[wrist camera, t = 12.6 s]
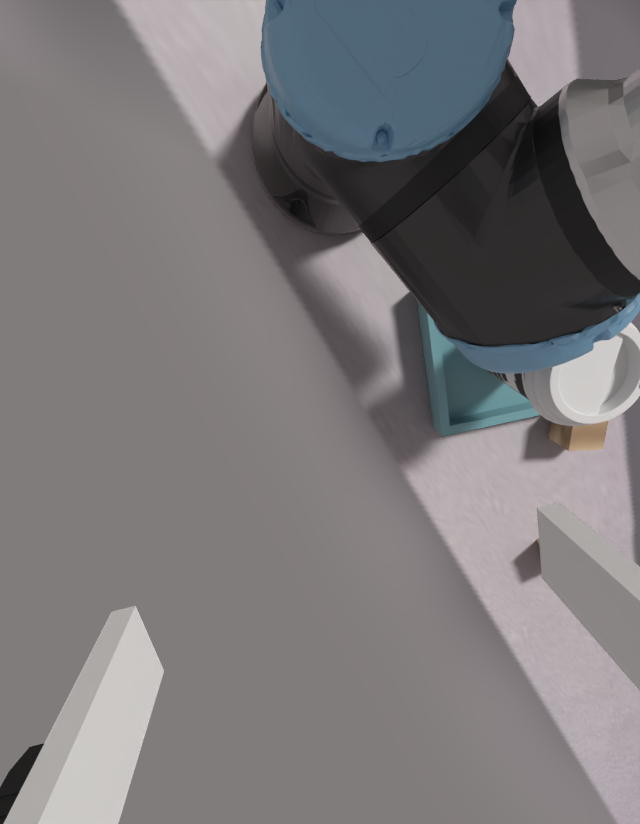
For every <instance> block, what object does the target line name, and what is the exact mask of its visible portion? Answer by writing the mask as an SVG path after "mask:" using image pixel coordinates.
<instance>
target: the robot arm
mask: <svg viewBox="0 0 640 824" xmlns="http://www.w3.org/2000/svg"><path fill="white" fill-rule="evenodd" d="M516 1H517V0H266V6H265V15H264V20H263V25H262V42H261V43H262V44H261V59H262V66H263V70H264V73H265V75H266V84H265V86H264V88H263V90H262V92H261V95H260V97H259V100H258V103H257V106H256V110H255V115H254V120H253V129H252V144H253V153H254V159H255V163H256V167H257V171H258V174H259V177H260V180H261V182H262V185H263V187H264V189H265V191H266V193H267V194H268V196H269V198H270V199H271V201H272V202H273V203H274V205H275V206H276V207H277V208H278V209H279V210H280V211H281V212H282V213H283V214H284V215H285V216H286V217H287V218H288V219H290V220H291V221H292V222H294V223H295V224H297V225H299V226H301V227H303V228H305V229H307V230H309V231H313V232H316V233H320V234H326V235H342V234H349V233H353V232H356V231H359V230H361V231H362V232H363V233H364V234H365V236H366V237H367V238H368V239H369V240H370V242H371V244H372V245H373V246H374V248H375V249H376V250H377V251H378V253H379V254H380V255H381V256H382V258H383V259H384V260H385V261H386V263H387V264H388V265H389V266H390V267H391V269H392V270H393V271H394V272H395V274H396V275H397V276H398V277H399V279H400V280H401V281H402V282H403V283H404V285H405V286H406V287H407V288H408V290H409V291H410V292H411V293H412V295H413V296H414V297H415V298H416V299H417V301H418V302H419V303H420V304H421V306H422V307H423V308H424V309H425V311H426V312H427V313H428V314H429V316H430V317H431V318H432V319H433V322H434V325H435V327H436V329H437V330H438V331H439V333H440V334H441V335H442V336H444V337H445V338H446V339H447V340H448V341H450V342H451V343H453V344H454V345H455V346H456V347H457V349H458V350H459V351H460V352H461V353H462V354H463V355H464V356H465V357H466V358H467V360H469V361H470V362H471V363H473V364H474V365H476V366H478V367H479V368H482V369H484V370H487V371H491V372H497V373H506V374H516V373H526V372H533V371H539V370H543V369H547V368H551V367H554V366H558V365H561V364H564V363H566V362H569V361H571V360H574V359H576V358H578V357H581V356H583V355H585V354H587V353H589V352H590V351H592V350H593V348H594V345H593V344H594V343H595V342H598V341H601V340H610V339H612V338H613V337H615V336H616V335H617V334H619V333H620V332H621V331H622V330H623V329H625V328H626V327H627V326H628V325H629V324H630V323H631V322H632V320H633V319H634V317H635V316H636V315H637V313H638V312H639V311H640V68H639V69H638V70H637V71H635V72H634V73H633V74H631V75H630V76H628V77H625V78H621V79H617V80H603V79H575V80H573V81H572V82H570V83H569V84H567V85H566V86H565V87H563V88H562V89H561V90H560V91H559V92H557V93H556V94H555V95H554V96H552V97H551V98H550V99H549V100H548V101H546V102H545V103H544V104H543V105H541V106H539V107H538V106H537V105H536V104H535V102H534V101H533V100H532V99H531V96H530V95H529V94H528V92H527V90H526V89H525V87H524V85H523V84H522V82H521V81H520V79H519V77H518V76H517V74H516V72H515V71H514V69H513V67H512V65H511V64H510V62H509V60H508V59H507V58H508V56H509V53H510V48H511V45H512V41H513V36H514V30H515V29H514V26H513V19H512V14H513V9H514V6H515V4H516ZM537 517H538V530H539V544H540V558H541V571H542V579H543V580H544V581H545V582H546V583H547V584H548V585H549V587H550V588H551V589H552V590H553V591H554V592H555V594H556V595H557V596H558V597H559V598H560V599H561V600H562V602H563V603H564V604H565V605H566V606H567V607H568V609H569V610H570V611H571V612H572V613H573V614H574V615H575V617H576V618H577V619H578V620H579V621H580V622H581V623H582V625H583V626H584V627H585V628H586V629H587V630H588V632H589V633H590V634H591V635H592V636H593V637H594V638H595V640H596V641H597V642H598V643H599V644H600V645H601V647H602V648H603V649H604V650H605V651H606V652H607V653H608V655H609V656H610V657H611V658H612V659H613V660H614V661H615V663H616V664H617V665H618V666H619V667H620V668H621V670H622V671H623V672H624V673H625V674H626V675H627V676H628V678H629V679H630V680H631V681H632V682H633V683H634V684H635V686H636V687H637V688H638V689H639V690H640V567H639V566H638V565H637V564H636V563H634V562H633V561H632V560H631V559H629V558H628V557H627V556H626V555H624V554H623V553H622V552H621V551H619V550H618V549H617V548H616V547H614V546H613V545H612V544H611V543H609V542H608V541H607V540H606V539H604V538H603V537H602V536H601V535H600V534H598V533H597V532H596V531H595V530H593V529H592V528H591V527H590V526H588V525H587V524H586V523H585V522H583V521H582V520H581V519H580V518H578V517H577V516H576V515H575V514H573V513H572V512H571V511H570V510H569V509H567V508H566V507H565V506H564V505H562V504H561V503H556V504H552V505H548V506H544V507H540V508H537ZM163 672H164V670H163V668H162V665H161V663H160V661H159V659H158V656H157V654H156V652H155V649H154V647H153V645H152V643H151V640H150V638H149V636H148V634H147V631H146V629H145V627H144V624H143V622H142V620H141V618H140V615H139V613H138V611H137V609H136V606H133V607H129V608H125V609H121V610H117V611H113V612H111V614H110V616H109V618H108V620H107V622H106V624H105V626H104V628H103V630H102V632H101V634H100V636H99V637H98V639H97V641H96V643H95V645H94V647H93V649H92V651H91V653H90V655H89V657H88V659H87V661H86V663H85V665H84V667H83V669H82V671H81V673H80V675H79V677H78V679H77V681H76V683H75V685H74V687H73V689H72V690H71V692H70V695H69V696H68V699H67V700H66V702H65V704H64V706H63V708H62V710H61V712H60V714H59V716H58V718H57V720H56V722H55V724H54V726H53V728H52V730H51V732H50V734H49V735H48V737H47V740H46V742H45V743H44V744H40V745H36V746H32V747H29V749H28V750H27V751H26V752H25V753H24V754H23V756H22V757H21V758H20V759H19V760H18V762H17V763H16V764H15V765H14V767H13V768H12V769H11V770H10V771H9V773H8V774H7V776H6V778H5V780H4V782H3V783H2V785H1V787H0V824H118V822H119V819H120V816H121V812H122V809H123V806H124V802H125V799H126V796H127V792H128V789H129V786H130V782H131V779H132V776H133V772H134V769H135V766H136V762H137V759H138V756H139V752H140V749H141V746H142V742H143V739H144V736H145V732H146V729H147V725H148V722H149V719H150V716H151V712H152V709H153V706H154V702H155V699H156V696H157V692H158V689H159V686H160V682H161V679H162V676H163Z"/></svg>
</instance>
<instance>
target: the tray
mask: <svg viewBox="0 0 640 824" xmlns="http://www.w3.org/2000/svg"><path fill="white" fill-rule="evenodd" d="M417 305H418V313H419V321H420V328H421V336H422V344H423V352H424V360H425V368H426V376H427V383H428V391H429V399H430V407H431V415H432V423H433V428H434V429H435V430H436V431H437V432H438V433H439V434H440V435H441V436H442V437H443V436H447V435H452V434H456V433H461V432H465V431H470V430H475V429H479V428H484V427H488V426H493V425H497V424H502V423H506V422H511V421H515V420H520V419H524V418H529V417H534V416H538V415H540V414H539V413H538V412H537V411H536V410H535V409H534V408H533V406H532V405H531V403H530V401H529V400H528V399H527V398H525V397H524V396H523V395H521V394H520V393H518V392H517V391H515V390H514V389H513V388H511V387H510V386H508V385H507V384H505V383H504V382H503V381H501V380H500V379H498V378H497V377H495V376H494V375H492V374H491V373H490V372H488V371H487V370H484V369H482V368H479V367H478V366H476V365H474V364H473V363H471V362H470V361H469V360H467V358H466V357H465V356H464V355H463V354H462V353H461V352H460V351H459V350H458V349H457V347H456V346H455V345H454V344H453V343H451V342H450V341H448V340H447V339H446V338H445V337H444V336H442V335H441V334H440V333H439V331H438V330H437V329H436V327H435V325H434V322H433V319H432V318H431V317H430V316H429V314H428V313H427V312H426V311H425V309H424V308H423V307H422V306H421V304H420V303H419V302H418V301H417Z"/></svg>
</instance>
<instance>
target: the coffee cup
mask: <svg viewBox="0 0 640 824" xmlns="http://www.w3.org/2000/svg"><path fill="white" fill-rule="evenodd" d="M593 345H594V348H593V350H592V351H590V352H589V353H587V354H585V355H583V356H581V357H578V358H576V359H574V360H571V361H569V362H566V363H564V364H561V365H558V366H554V367H551V368H547V369H543V370H539V371H533V372H526V373H516V374H506V373H497V372H491V371H488V372H490V373H491V374H492V375H494V376H495V377H497V378H498V379H500V380H501V381H503V382H504V383H505V384H507V385H508V386H510V387H511V388H513V389H514V390H515V391H517V392H518V393H520V394H521V395H523V396H524V397H525V398H527V399H528V400H529V401H530V403H531V405H532V406H533V408H534V409H535V410H536V411H537V412H538V413H539V414H540V415H541V416H542V417H544V418H545V419H547V420H549V421H551V422H553V423H556V424H560V425H567V426H584V425H590V424H595V423H601V422H605V421H608V420H610V419H613V418H615V417H617V416H618V415H620V414H621V413H623V412H624V411H626V410H627V409H628V408H629V407H630V406H631V405H632V404H633V403H634V402H635V401H636V400H637V398H638V397H639V396H640V333H639V331H638V330H637V329H636V327H635V326H634V325H633V324H632V323H630V324H629V325H628V326H627V327H626V328H625V329H623V330H622V331H621V332H620V333H619V334H617V335H616V336H615V337H613V338H612V339H610V340H601V341H598V342H595V343H594V344H593Z"/></svg>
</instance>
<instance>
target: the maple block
mask: <svg viewBox="0 0 640 824" xmlns="http://www.w3.org/2000/svg"><path fill="white" fill-rule="evenodd" d="M607 425H608V421H605V422H601V423H595V424H590V425H584V426H567V425H560V424H556V423H553V422H551V423H550V430H549V436H548V439H550V440H552V441H553V442H555V443H557V444H558V445H560V446H562V447H563V448H565V449H566V450H568V451H576V450H598V449H603V445H604V440H605V435H606V430H607Z"/></svg>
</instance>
